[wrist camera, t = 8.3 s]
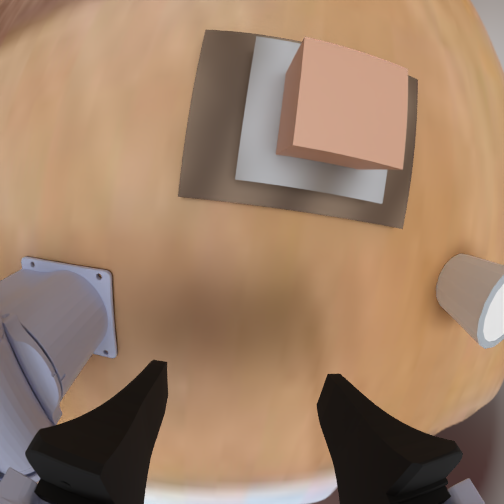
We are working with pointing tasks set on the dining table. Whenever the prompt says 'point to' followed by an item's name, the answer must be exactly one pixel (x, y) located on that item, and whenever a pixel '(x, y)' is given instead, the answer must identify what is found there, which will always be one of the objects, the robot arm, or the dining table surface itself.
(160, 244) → the dining table surface
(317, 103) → the terracotta block
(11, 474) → the robot arm
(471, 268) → the grey cup
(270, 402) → the dining table surface
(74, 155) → the dining table surface
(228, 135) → the walnut base
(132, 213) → the dining table surface
